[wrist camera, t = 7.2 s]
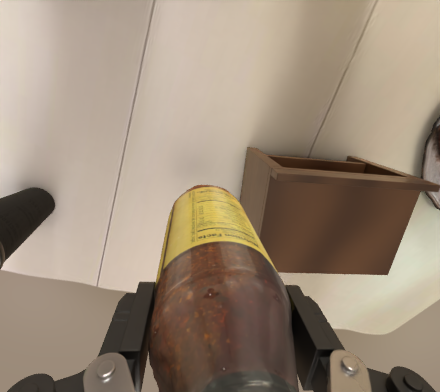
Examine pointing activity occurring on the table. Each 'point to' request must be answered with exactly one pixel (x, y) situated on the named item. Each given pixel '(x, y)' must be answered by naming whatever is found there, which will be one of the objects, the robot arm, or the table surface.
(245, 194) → the shelf
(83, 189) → the table surface
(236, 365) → the sauce bottle
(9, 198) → the drinking cup
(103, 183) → the table surface
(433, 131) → the food plate
